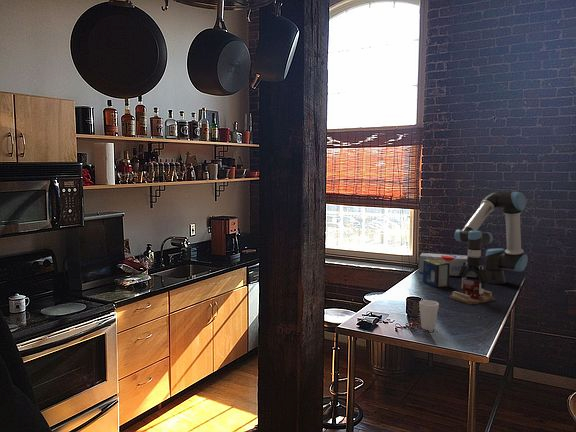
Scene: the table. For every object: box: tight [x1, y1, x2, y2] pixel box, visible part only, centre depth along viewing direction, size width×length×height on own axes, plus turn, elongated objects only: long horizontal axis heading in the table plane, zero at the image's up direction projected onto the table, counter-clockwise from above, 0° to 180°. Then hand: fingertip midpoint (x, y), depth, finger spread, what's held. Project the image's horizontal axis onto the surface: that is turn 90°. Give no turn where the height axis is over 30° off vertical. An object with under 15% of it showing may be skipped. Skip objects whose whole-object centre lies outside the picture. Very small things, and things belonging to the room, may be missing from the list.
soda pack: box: [418, 252, 478, 278], centre depth 360 cm, size 41×13×14 cm, turn 67°
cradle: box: [449, 289, 495, 305], centre depth 295 cm, size 20×16×4 cm
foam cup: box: [418, 299, 440, 331], centre depth 243 cm, size 10×9×13 cm
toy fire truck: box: [461, 278, 484, 298], centre depth 294 cm, size 7×12×10 cm, turn 55°
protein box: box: [422, 259, 450, 288], centre depth 330 cm, size 10×15×16 cm
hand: (472, 290), depth 294 cm, fingers open, 13 cm apart
